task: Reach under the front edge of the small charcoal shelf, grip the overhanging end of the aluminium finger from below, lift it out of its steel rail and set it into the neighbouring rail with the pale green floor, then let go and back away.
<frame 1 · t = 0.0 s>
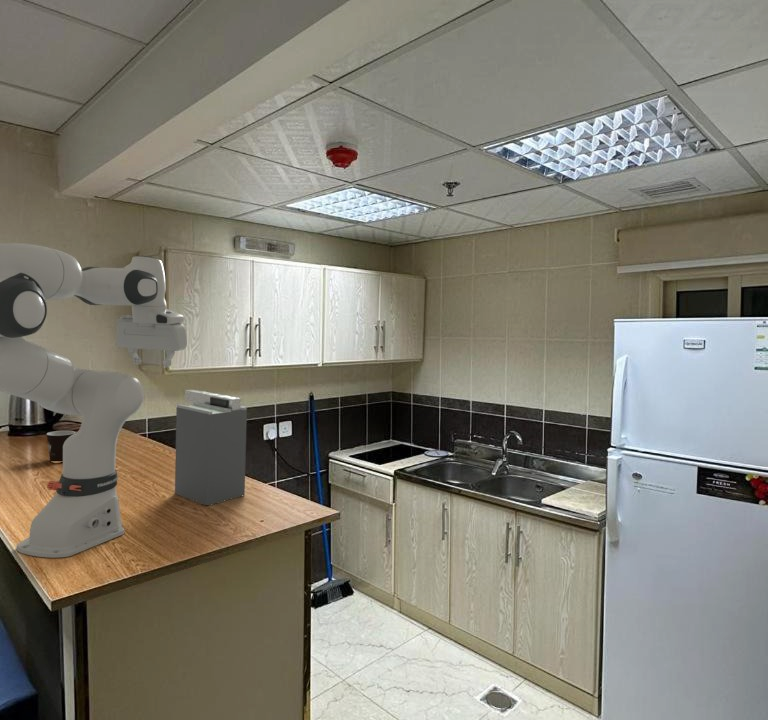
hand: (152, 365, 147), 39 cm above the worktop, tool pointing down, fingers open, 8 cm apart
coffee mug: (61, 460, 187), on the worktop
finger: (211, 405, 160), point 26 cm above the worktop, touching shelf
shelf: (209, 494, 156), on the worktop
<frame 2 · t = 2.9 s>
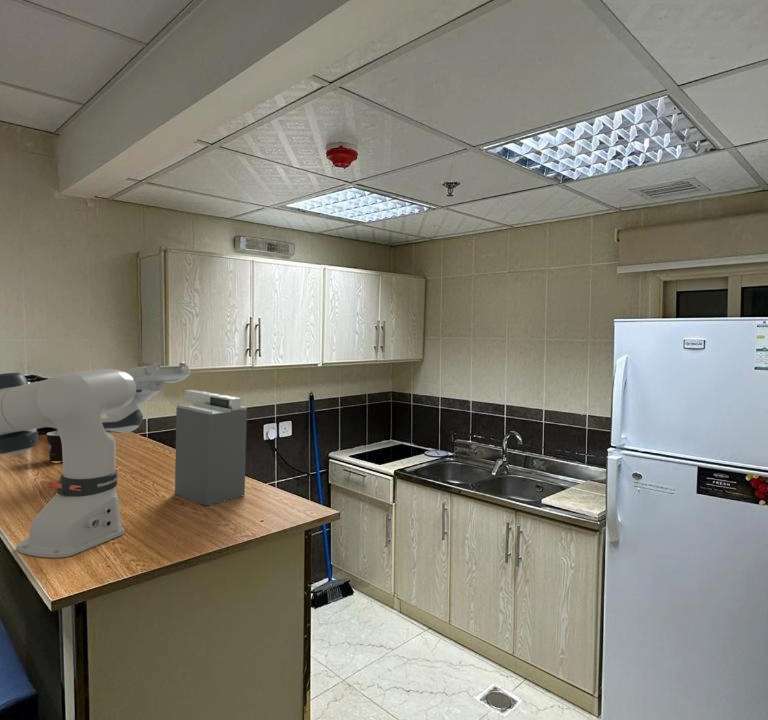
hand: (171, 364, 172), 37 cm above the worktop, tool pointing upward, fingers open, 8 cm apart
nothing on the worktop moved.
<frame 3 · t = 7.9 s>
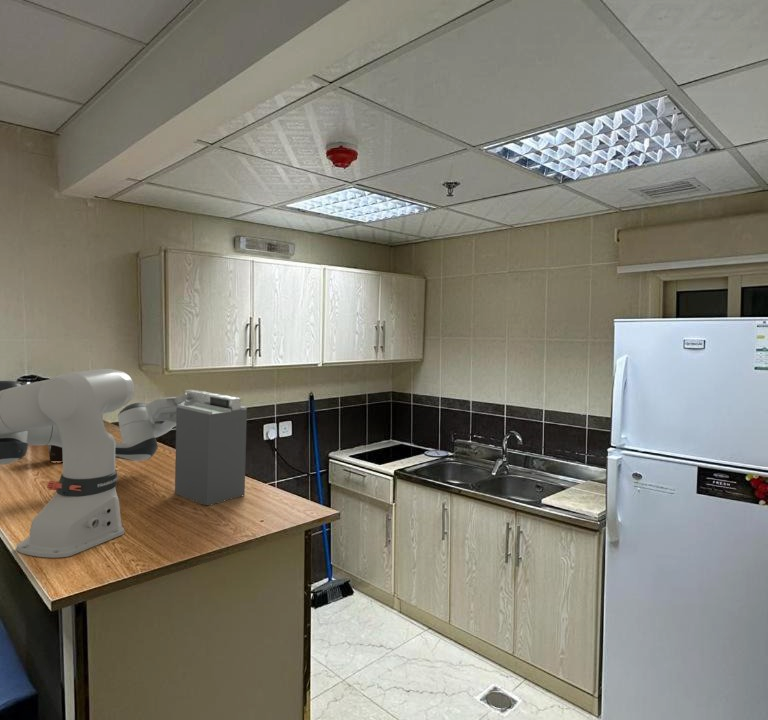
hand: (194, 394, 166), 28 cm above the worktop, tool pointing upward, fingers closed on finger, 3 cm apart
finger: (211, 405, 160), point 26 cm above the worktop, touching gripper, shelf
everything else where it was.
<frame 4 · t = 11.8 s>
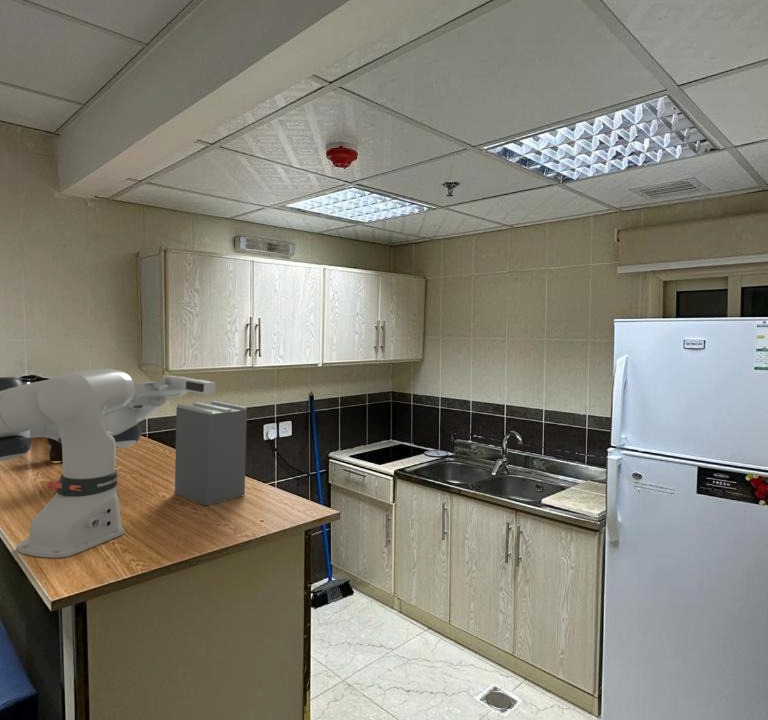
hand: (171, 379, 170), 32 cm above the worktop, tool pointing upward, fingers closed on finger, 3 cm apart
finger: (187, 389, 164), point 30 cm above the worktop, touching gripper
everything else where it was.
when the fingers open (30 cm above the worktop, at t = 15.6 s): finger drops 1 cm, resting on shelf.
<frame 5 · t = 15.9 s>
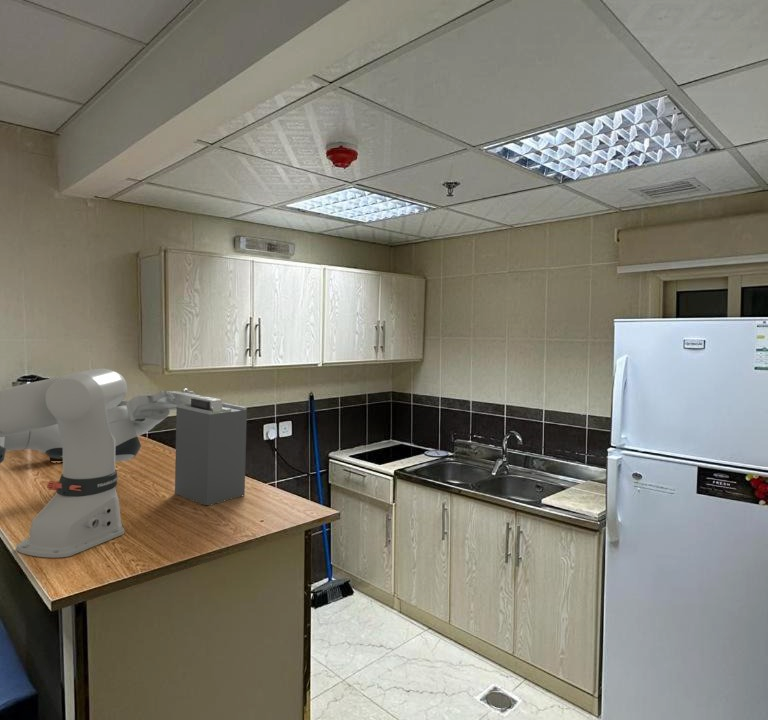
hand: (175, 391, 161), 30 cm above the worktop, tool pointing upward, fingers open, 6 cm apart
finger: (192, 407, 155), point 26 cm above the worktop, touching shelf
everything else where it was.
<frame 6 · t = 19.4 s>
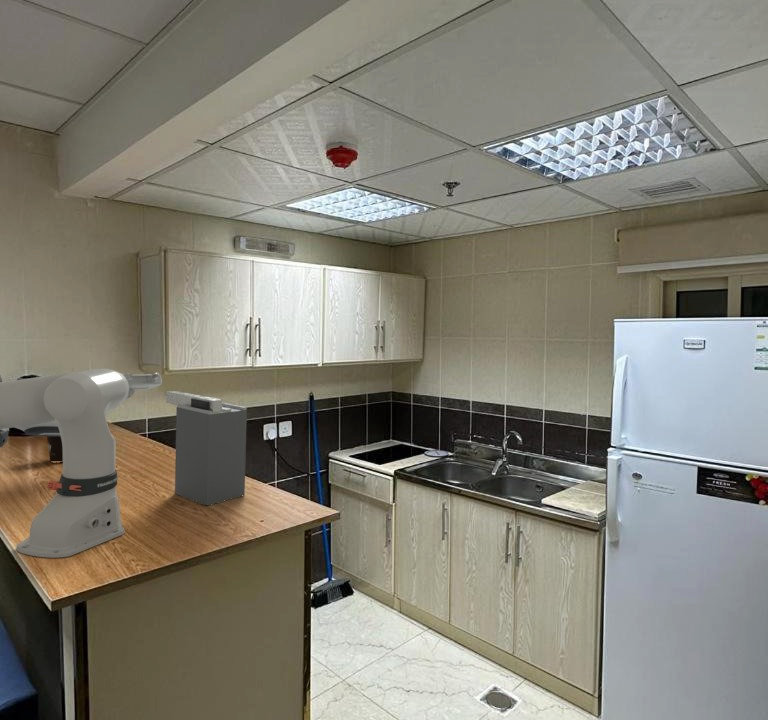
hand: (144, 375, 167), 34 cm above the worktop, tool pointing upward, fingers open, 8 cm apart
nothing on the worktop moved.
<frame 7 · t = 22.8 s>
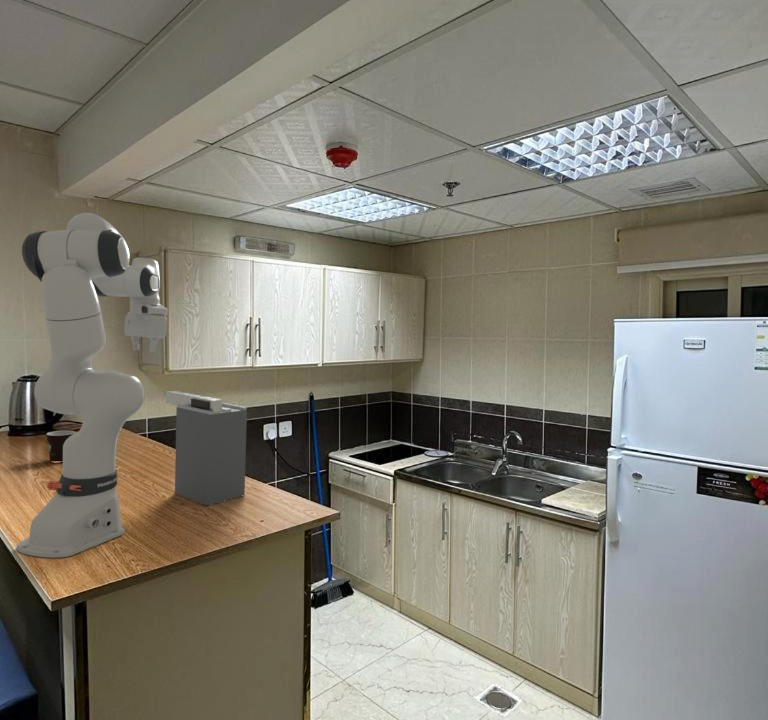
hand: (144, 351, 171), 41 cm above the worktop, tool pointing down, fingers open, 8 cm apart
nothing on the worktop moved.
at the end: finger 0.3 cm from the target spot on the shelf, point 26.1 cm above the shelf's base; finger tilted 0°; the gripper is holding nothing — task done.
